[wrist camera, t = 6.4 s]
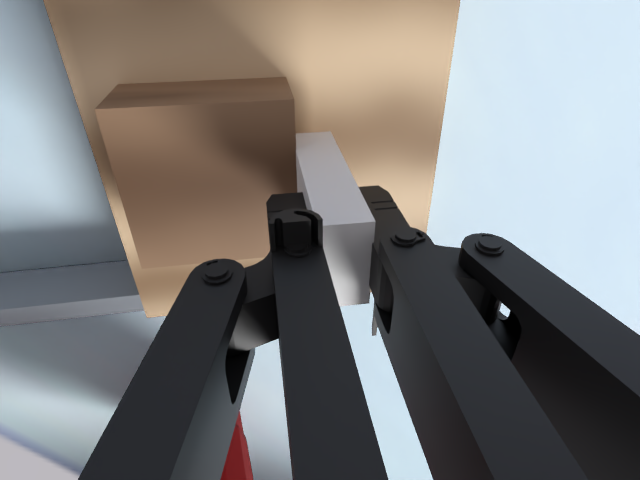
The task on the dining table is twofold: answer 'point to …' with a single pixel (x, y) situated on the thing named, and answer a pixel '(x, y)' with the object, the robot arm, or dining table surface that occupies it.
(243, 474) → the plastic cup
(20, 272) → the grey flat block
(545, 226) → the dining table surface
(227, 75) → the board
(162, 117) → the brown square block
